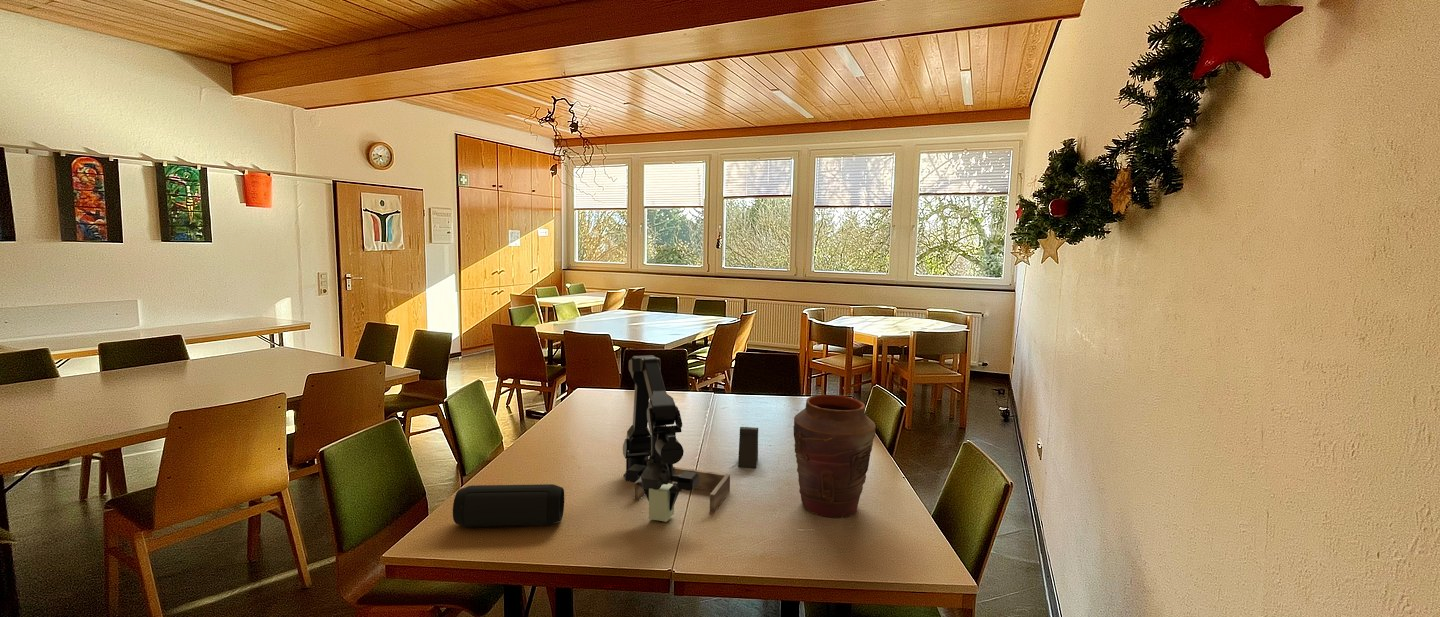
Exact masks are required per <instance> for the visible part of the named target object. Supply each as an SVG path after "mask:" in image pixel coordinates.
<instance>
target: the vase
mask: <svg viewBox="0 0 1440 617" xmlns="http://www.w3.org/2000/svg"><path fill="white" fill-rule="evenodd" d="M876 427H877V426H876V423H875V422H874V420H872V419H871V418H869V416H868V415H866V405H865V403H864V402H862V401H861V400H859V399H856V398H854V397H850V396H845V395H838V394H837V395H836V394H818V395H813V396H809V397H808V398H806V400H805V407H804V409H801V411H800V412H798V413H796V414H795V416H794V417H793V437H794V438H793V439H794V453H795V458H796V464H797V468H796V472H797V473H798V474H797V475H798V485H799V493H800V498H801V499H800V500H801V503H802V506H803V507H804V508H805V510H807V511H809V512H810V513H813V514H814V515H817V516H819V517H824V518H828V519H829V518H830V519H840V518H841V517H842V518H846V517H850V516H852V514H853V515H854V514H855V513H856V512H857V510H858V508H859V502H860V499H861V495H862V493H863V491H864V490H863V489H864V484H865V483H866V479H867V472H868V471H869V465H870V458H871V453H872V450H873V445H874V439H875V437H876Z"/></svg>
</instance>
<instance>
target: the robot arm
mask: <svg viewBox="0 0 1440 617" xmlns="http://www.w3.org/2000/svg"><path fill="white" fill-rule="evenodd" d="M661 370H662V369H661V357H657V356H655V355H652V354H649V355H646V354H645V355H632V357H630V359H629V360H628V371H629V373H630V375H631V378H632V380H633V382H634V396H633V398H634V399H633V410H632V411H633V413H632V414H633V415H632V425H631V426H630V427H629V428H628V429H627V430H626V438H625V439H624V441H623V444H622V455H623V457H624V459H625V465H626V466H625V472H624V474H623V477H624V481H625V482H629V483H634V484H635V482H636V481H637V480H638V482H637V483H636V485H637V486H640V487H641V488H643V490H644V492H645V496H646V500H647V501H648V503H649V488H651V489H654V490H658V489H660V488H661V485H663V484H666V485H667V484H668V483H669V482H672V484H673V486H672V487H671V488H670V489H669V491H670V504H669V508H670V511H671V510H672V509H673V507H674V508H675V504H676V503H677V502H676V501H677V499H678V496H679V495H680V492H681V491H689V492H690V491H691V492H692V491H694V489H696V488H695V487H696V486H697V485H698V483H699V476H698V474H697V473H695V472H688V471H684V472H683V473H682V474H681V475H675V474H673V472H674V471H675V467H676V466H674V465H675V464H677V463H679V462H680V461H681V460H682V459H683V457H684V447H683V445H682V444H681V442H680V441H679V440H678V439H677V435H676V434H677V433H682V427H683V422H682V417H681V411H680V410H679V407H678V406H677V405H676V403H675V401H674V398H673V397H672V396H671V395H670V394H668V393H667V390H666V387H665V386H666V385H665V383H664V379H663V375H662V371H661Z"/></svg>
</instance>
